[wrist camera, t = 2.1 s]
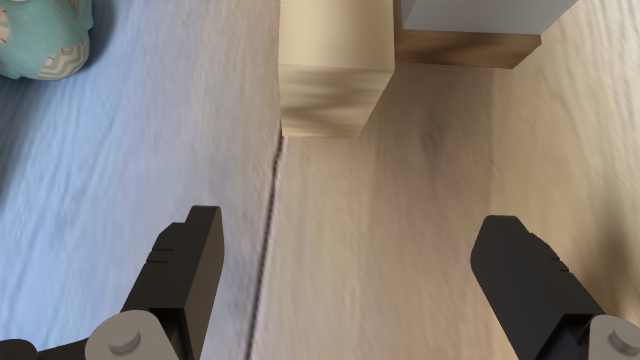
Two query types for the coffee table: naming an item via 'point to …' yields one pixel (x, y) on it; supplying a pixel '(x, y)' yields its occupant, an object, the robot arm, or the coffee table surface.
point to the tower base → (460, 46)
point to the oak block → (333, 64)
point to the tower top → (483, 15)
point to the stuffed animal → (44, 38)
